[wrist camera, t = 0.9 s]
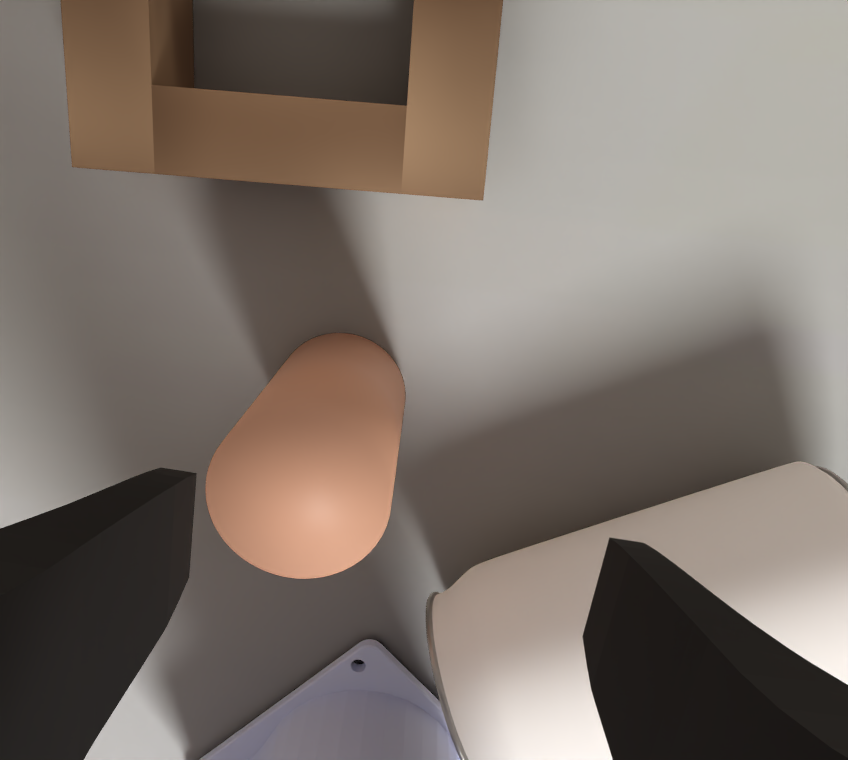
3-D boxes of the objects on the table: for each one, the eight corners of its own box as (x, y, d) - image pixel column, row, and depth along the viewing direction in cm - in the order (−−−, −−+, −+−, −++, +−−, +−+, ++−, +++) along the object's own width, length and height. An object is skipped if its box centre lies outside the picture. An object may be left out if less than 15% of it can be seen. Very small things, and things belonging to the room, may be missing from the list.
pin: (337, 477, 22) (295, 610, 16) (251, 388, 21) (167, 487, 15) (431, 402, 21) (430, 508, 15) (345, 306, 21) (301, 371, 14)
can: (776, 445, 23) (435, 556, 24) (877, 470, 16) (405, 619, 18) (848, 634, 22) (498, 734, 24) (981, 736, 16) (489, 864, 17)
